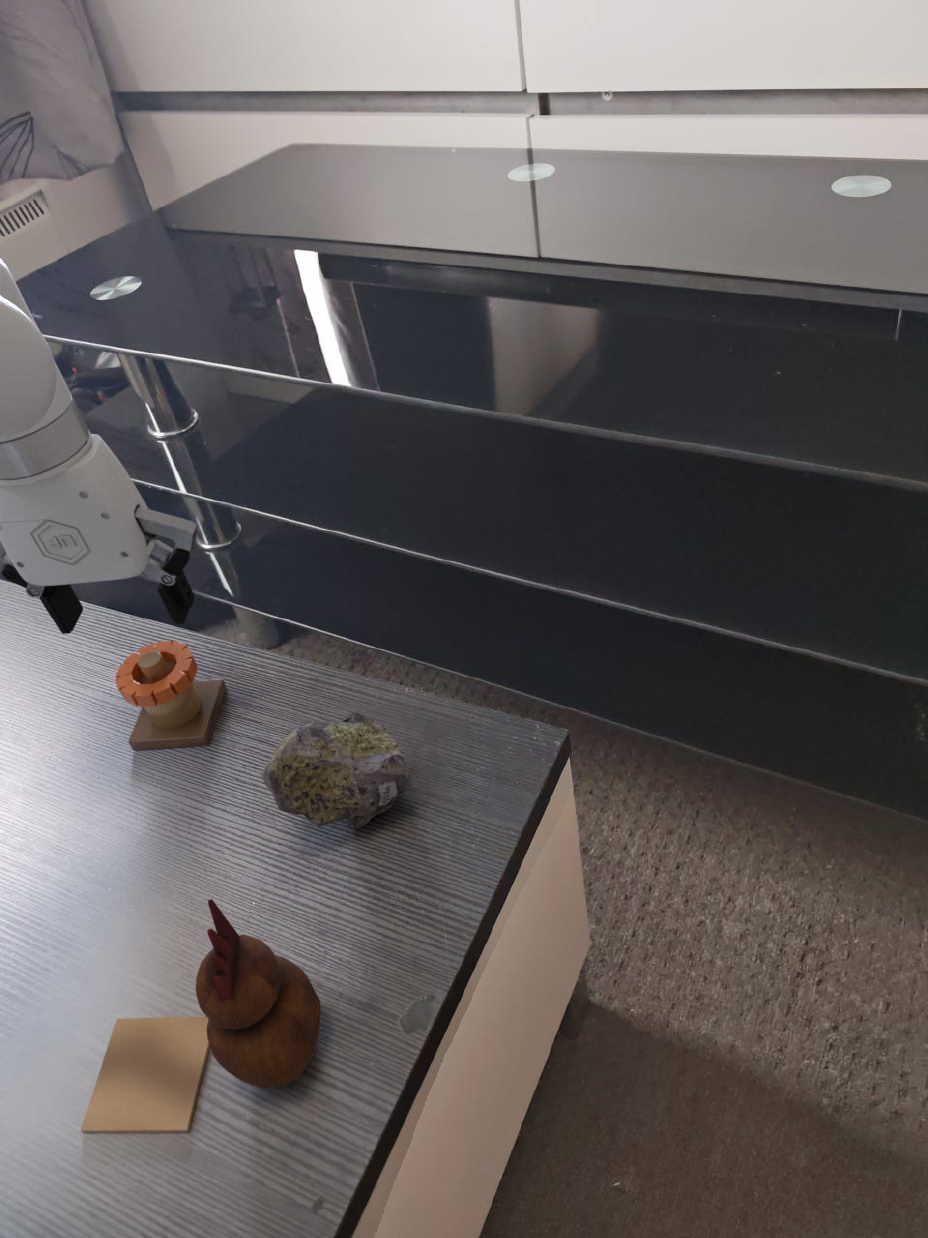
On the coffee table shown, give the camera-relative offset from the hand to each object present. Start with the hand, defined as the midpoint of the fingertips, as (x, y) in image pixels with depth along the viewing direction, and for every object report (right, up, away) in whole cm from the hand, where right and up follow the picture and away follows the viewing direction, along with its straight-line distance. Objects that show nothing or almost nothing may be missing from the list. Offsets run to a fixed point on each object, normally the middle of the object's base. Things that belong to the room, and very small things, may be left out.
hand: (128, 617), depth 75 cm
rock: (+19, -15, -3) cm, 25 cm away
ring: (+1, -5, +4) cm, 7 cm away
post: (+2, -9, +8) cm, 12 cm away
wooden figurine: (+16, -28, -16) cm, 36 cm away
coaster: (+7, -30, -16) cm, 34 cm away
